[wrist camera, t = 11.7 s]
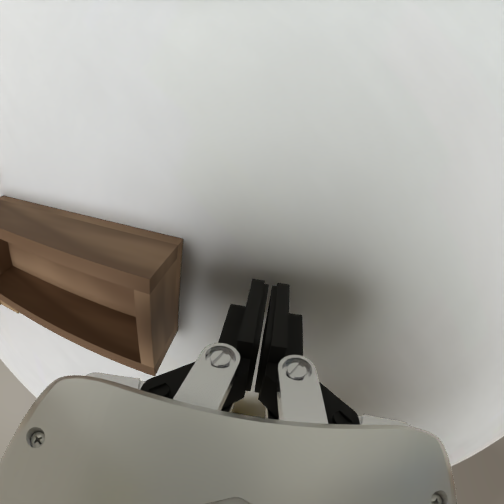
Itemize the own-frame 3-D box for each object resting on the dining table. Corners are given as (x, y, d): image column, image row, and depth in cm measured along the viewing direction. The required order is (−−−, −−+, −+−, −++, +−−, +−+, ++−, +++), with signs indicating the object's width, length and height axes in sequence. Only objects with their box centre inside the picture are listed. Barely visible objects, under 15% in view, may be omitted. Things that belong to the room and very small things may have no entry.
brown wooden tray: (179, 327, 16) (154, 376, 12) (17, 264, 16) (-14, 289, 13) (185, 236, 13) (149, 279, 10) (6, 194, 14) (-33, 214, 10)
